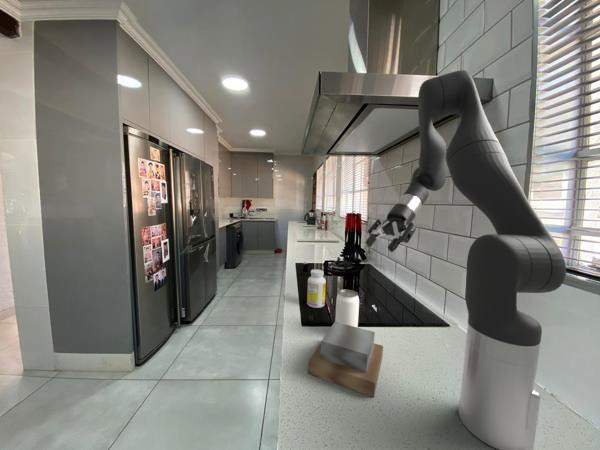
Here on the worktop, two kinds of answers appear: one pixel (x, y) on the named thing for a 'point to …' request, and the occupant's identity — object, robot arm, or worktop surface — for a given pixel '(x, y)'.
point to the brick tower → (348, 358)
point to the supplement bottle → (316, 289)
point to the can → (347, 308)
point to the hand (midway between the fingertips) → (378, 247)
